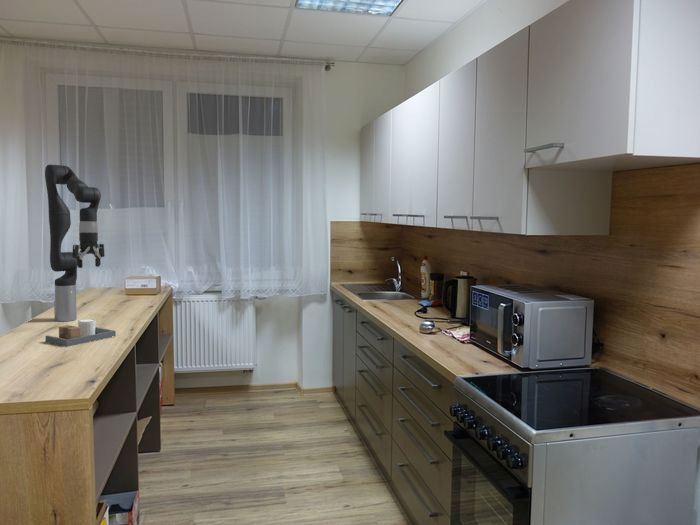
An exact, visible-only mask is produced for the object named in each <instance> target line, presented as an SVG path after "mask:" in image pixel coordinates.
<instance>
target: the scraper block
mask: <svg viewBox="0 0 700 525" xmlns="http://www.w3.org/2000/svg"><path fill="white" fill-rule="evenodd" d="M78 337H80V327H79V326H74V325H69V324H67V325H61V326H58V338H63V339H72V338H78Z"/></svg>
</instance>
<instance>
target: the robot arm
mask: <svg viewBox="0 0 700 525" xmlns="http://www.w3.org/2000/svg"><path fill="white" fill-rule="evenodd" d="M44 178H45V185H46V192H47V202H48V204H47V205H48V223H49V235H50V236H49V239H50V243H49V244H50V247H49V264H50V267H51V270H52V271H53V272H56V273H57V272H58V273H59V272H64V274H63V275H61V276H59V277H58V278H56V279H55V280H54V301H53V307H54V308H53V309H54V311H53V312H54V314H53V315H54V320H55V322H56V321H57V322H69V321H70V322H71V321H76V320H77V319H78V318H77V315H78V314H77V280H78V279H77V278H78V269H82V268H83V258H84V257H85V256H86V255H93V256H94V258H95V259H94V262H95V263H94V264H95V265H94V266H95V267H98V268H99V267H101V258H105V256H106V255H105V244H104V243H98V241H99V236H98V234H99V232H98V231H99V230H98V229H99V228H98V209H99V205H100V201H101V198H102V194H101V190H100V189H99V188H98V187H94V186H93V187H92V186H89V185H87V183H85V182H84V181H82V180H81V179H80V178H79V177H78V176H77V174H75V172H74V171H73V169H72V168H70V167H69V166H67V165H62V164H47V165H46V166H45V169H44ZM57 185H62V186H63V185H66V188H67V190H68V191H69V192H70V193H71V194H73V197H74V199H75V201H77V202H78V203H84V204H85V203H87V204H89V205H88V207H82V208H80V209H79V224H78V232H79V233H78V234H79V235H78V236H79V237H78V238H79V241H78V242H79V244H73V245H72V251H64V252H63V251H62V243H63V240H64V238H65V236H66V235H67V233H68V232H69V230H70V229H71V226H72V225H71V224H72V219H71V212H70V209H69V207H68V206H67V204H66V202H65V201H64V200H63V199H62V198H61V196H60V194H59V192H58V189H57ZM97 249H98V250H97Z"/></svg>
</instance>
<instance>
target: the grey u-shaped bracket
mask: <svg viewBox="0 0 700 525" xmlns="http://www.w3.org/2000/svg"><path fill="white" fill-rule="evenodd" d="M116 331H117V330H114V329H109V328H102V327H96V326H95V334H93V335H88V336H83V337H78V338H72V339H63V338H59V336H53V335H45V337H44V338H45V343H49V344H53V345H58V346H62V347H71V346H77V345H82V344H84V343H85V344H86V343H90V341H91V342H95V341H94V340H96V341H100V340H99V339H101V340H104V339H103V338H106V339H109V338H108V337H111V338H113V337H112V336H116ZM96 333H97V334H96ZM116 337H117V336H116Z"/></svg>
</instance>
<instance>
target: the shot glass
mask: <svg viewBox="0 0 700 525" xmlns="http://www.w3.org/2000/svg"><path fill="white" fill-rule="evenodd" d="M77 324H78V326H77V327H80V337H83V336H88V335H93V334H96V333H95V327H96V325H97V320H96V319H95V318H84V319H80V320H78V321H77Z"/></svg>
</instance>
